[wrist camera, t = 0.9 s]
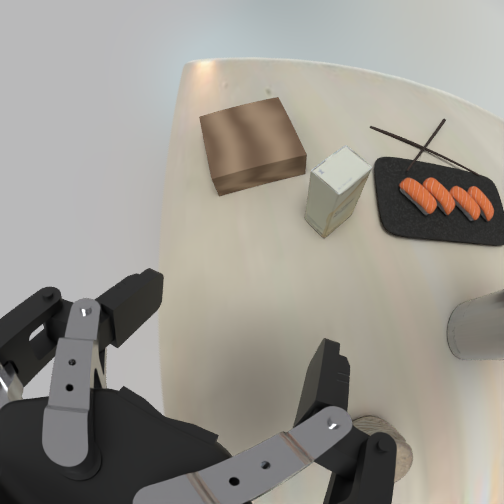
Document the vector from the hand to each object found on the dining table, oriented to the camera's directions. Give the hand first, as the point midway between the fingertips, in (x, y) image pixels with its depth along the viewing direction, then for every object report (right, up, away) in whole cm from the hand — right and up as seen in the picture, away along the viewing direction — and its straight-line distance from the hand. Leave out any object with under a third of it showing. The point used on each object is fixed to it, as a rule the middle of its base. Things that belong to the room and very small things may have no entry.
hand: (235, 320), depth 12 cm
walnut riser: (+1, +20, +32) cm, 38 cm away
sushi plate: (+35, +18, +28) cm, 49 cm away
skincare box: (+12, +8, +27) cm, 31 cm away
